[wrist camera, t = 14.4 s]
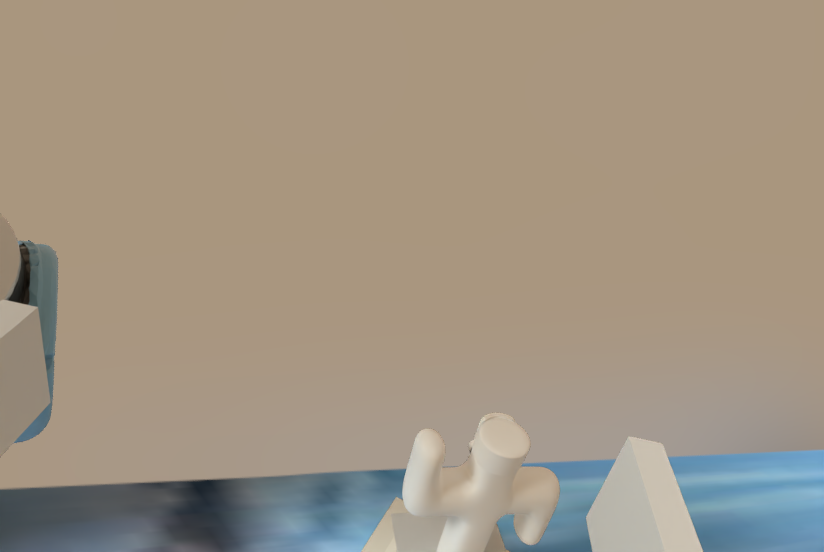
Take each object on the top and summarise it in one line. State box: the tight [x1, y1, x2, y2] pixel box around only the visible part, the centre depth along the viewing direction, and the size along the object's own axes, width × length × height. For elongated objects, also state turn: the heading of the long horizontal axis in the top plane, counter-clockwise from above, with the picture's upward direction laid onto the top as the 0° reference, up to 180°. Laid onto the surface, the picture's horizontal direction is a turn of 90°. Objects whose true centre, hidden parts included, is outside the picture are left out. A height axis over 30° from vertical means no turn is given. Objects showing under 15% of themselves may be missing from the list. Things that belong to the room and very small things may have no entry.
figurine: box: [391, 413, 560, 552], centre depth 36 cm, size 7×9×15 cm
